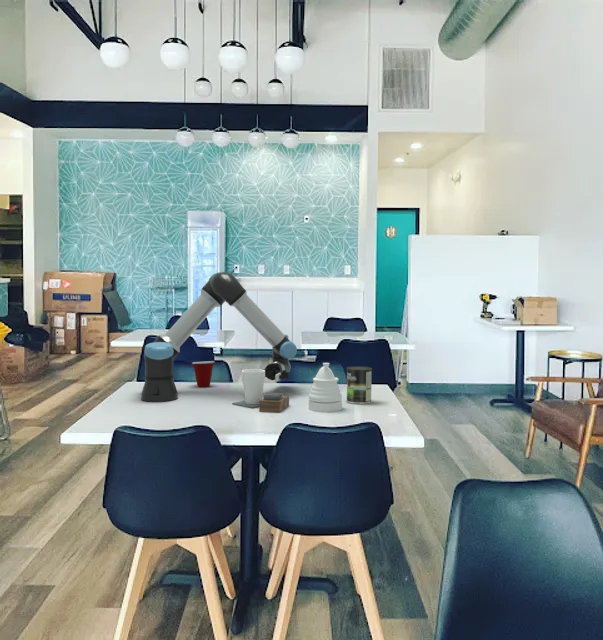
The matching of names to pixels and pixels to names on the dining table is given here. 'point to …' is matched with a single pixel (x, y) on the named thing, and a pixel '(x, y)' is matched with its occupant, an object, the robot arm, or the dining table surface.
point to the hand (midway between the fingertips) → (260, 377)
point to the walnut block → (273, 402)
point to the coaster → (244, 404)
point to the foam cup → (253, 385)
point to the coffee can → (359, 385)
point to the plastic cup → (203, 372)
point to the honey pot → (325, 392)
